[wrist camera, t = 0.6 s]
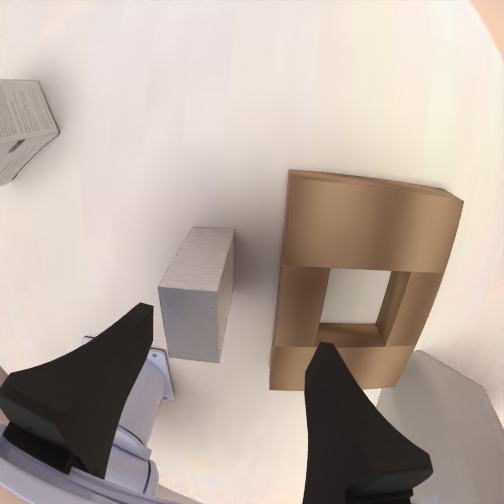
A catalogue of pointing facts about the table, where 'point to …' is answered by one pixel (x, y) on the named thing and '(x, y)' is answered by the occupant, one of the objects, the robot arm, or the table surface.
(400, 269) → the well block
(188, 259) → the brushed metal block
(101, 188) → the table surface
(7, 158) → the skincare box
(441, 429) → the tall grey carton
